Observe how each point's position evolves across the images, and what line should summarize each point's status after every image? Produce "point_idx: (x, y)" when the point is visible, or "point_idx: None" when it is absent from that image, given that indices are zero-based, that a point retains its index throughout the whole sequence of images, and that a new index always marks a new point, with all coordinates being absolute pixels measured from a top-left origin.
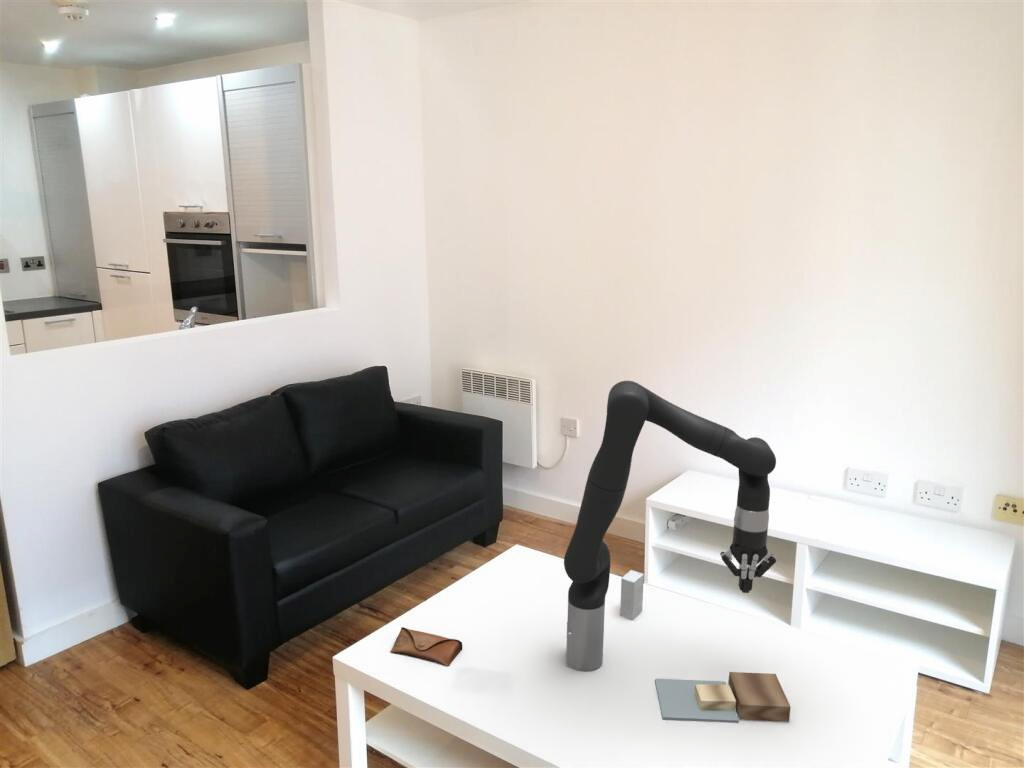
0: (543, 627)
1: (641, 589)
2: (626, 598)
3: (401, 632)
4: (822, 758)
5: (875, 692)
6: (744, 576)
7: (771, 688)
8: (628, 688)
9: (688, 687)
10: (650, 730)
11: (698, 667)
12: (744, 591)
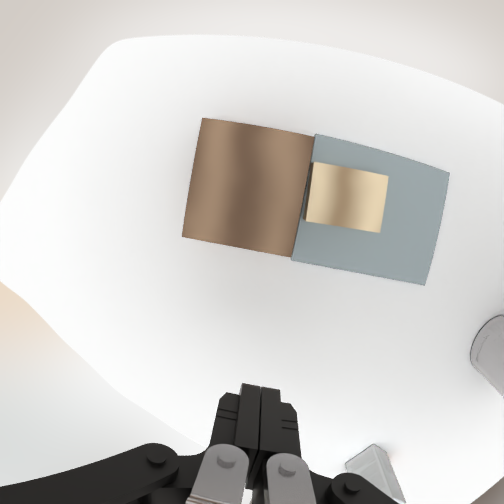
0: (494, 414)
1: None
2: (390, 474)
3: None
4: (197, 36)
5: (30, 202)
6: (286, 468)
7: (215, 184)
8: (468, 266)
9: (376, 250)
10: (469, 151)
11: (323, 316)
12: (271, 390)
